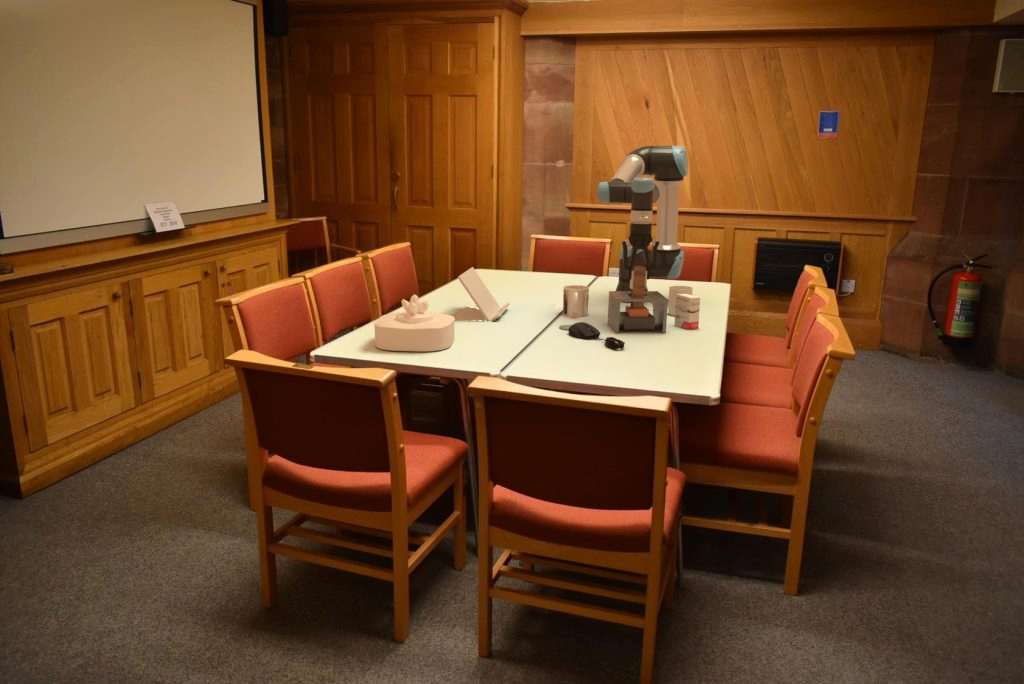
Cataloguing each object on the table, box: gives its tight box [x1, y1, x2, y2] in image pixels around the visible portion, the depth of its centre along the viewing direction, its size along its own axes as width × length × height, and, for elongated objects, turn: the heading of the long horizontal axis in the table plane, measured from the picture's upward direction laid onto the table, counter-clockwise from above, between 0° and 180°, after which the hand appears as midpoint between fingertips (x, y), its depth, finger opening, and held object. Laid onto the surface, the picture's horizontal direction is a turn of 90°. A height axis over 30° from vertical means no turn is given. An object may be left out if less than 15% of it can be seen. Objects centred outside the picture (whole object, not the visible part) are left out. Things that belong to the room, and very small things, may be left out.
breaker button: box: [624, 305, 650, 317], centre depth 281 cm, size 7×7×6 cm
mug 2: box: [667, 285, 693, 317], centre depth 306 cm, size 12×9×11 cm
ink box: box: [674, 294, 701, 331], centre depth 284 cm, size 8×5×12 cm, turn 26°
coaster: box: [558, 324, 573, 332], centre depth 281 cm, size 8×8×1 cm
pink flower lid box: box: [374, 293, 456, 352], centre depth 257 cm, size 25×25×16 cm
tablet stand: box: [453, 266, 510, 322], centre depth 301 cm, size 18×25×17 cm
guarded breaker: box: [607, 290, 669, 334], centre depth 281 cm, size 16×18×12 cm
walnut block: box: [630, 266, 646, 309], centre depth 278 cm, size 4×4×15 cm
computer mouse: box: [568, 321, 626, 350], centre depth 263 cm, size 8×28×5 cm, turn 34°
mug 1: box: [562, 284, 590, 318], centre depth 302 cm, size 10×12×11 cm
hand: (637, 288), depth 278 cm, fingers closed on walnut block, 4 cm apart
